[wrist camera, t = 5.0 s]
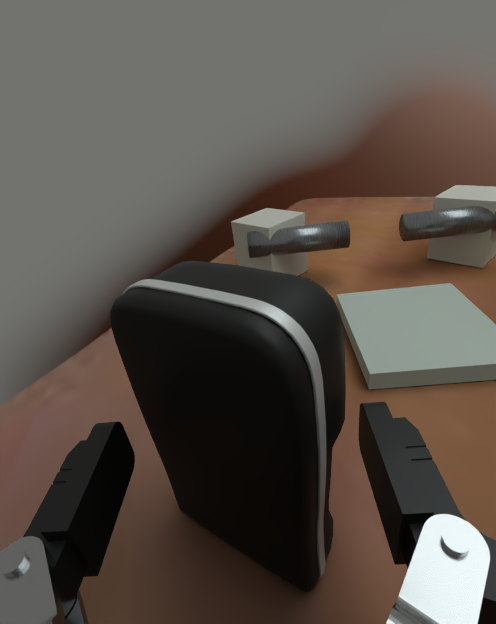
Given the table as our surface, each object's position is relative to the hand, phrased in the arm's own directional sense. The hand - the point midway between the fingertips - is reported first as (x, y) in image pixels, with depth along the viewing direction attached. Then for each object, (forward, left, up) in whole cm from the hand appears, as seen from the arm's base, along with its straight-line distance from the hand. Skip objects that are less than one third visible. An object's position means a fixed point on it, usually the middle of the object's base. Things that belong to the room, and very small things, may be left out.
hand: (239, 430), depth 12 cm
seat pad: (-11, -13, -6) cm, 18 cm away
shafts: (-11, -23, -3) cm, 26 cm away
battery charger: (0, -1, -6) cm, 6 cm away
